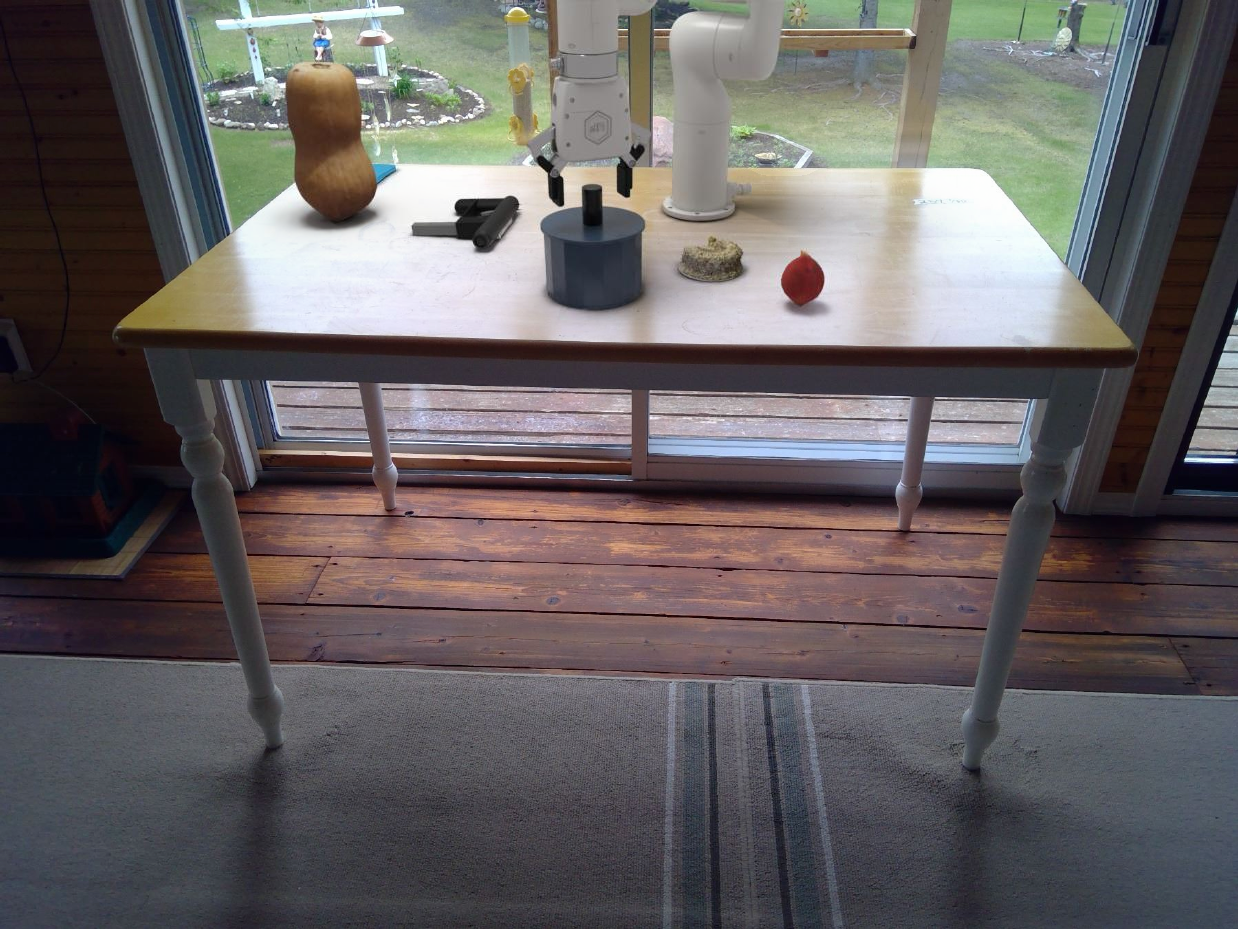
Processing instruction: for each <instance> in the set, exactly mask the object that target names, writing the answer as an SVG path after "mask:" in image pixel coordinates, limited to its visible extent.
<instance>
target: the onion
mask: <svg viewBox="0 0 1238 929" xmlns="http://www.w3.org/2000/svg"><path fill="white" fill-rule="evenodd" d="M825 280H826V279H825V272H824V270H823V267H822V266H821V265H820V264H819V263H818V262H817V260H815V259H814V258H813V257H812V256H811V255H809V253H808V251H807V250H805V249H801V250H800V254H799V256H797V257H796V258H794V259H792V260H791V261H790V262H789V263H788V264H787V265H786V266H785V267H784V270H783V272H782V274H781V279H780V286H781V288H782V292H783V293H784V295H785V296H787V298H788V299H789V300H790V301H791V302H792V303H793V304H794V305H795V306H797V307H803V306H805V305H807V304H809V303H811V302H812V301H815V299H817V298H818V297H819V296H820V295H821V293H822V291H823V289H824V287H825V286H824V285H825Z"/></svg>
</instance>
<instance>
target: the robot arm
mask: <svg viewBox="0 0 1238 929" xmlns="http://www.w3.org/2000/svg"><path fill="white" fill-rule="evenodd" d="M701 1H703V2H709V3H723V4H739V5H747V6H748V8H749V13H733V12H732V13H731V12H727V11H725V12H724V11H710V10H709V11H706V10H698V11H690V12H687V13H684V14H682V15H681V16H679V17H678V18H676V20H675V21H674V23H673V24H672V26H671V29H670V30H669V31H670V32H669V37H668V49H669V50H668V51H669V57H670V65H671V72H672V79H673V80H672V82H673V83H672V84H673V120H672V122H673V123H672V127H673V129H672V131H673V132H672V164H671V165H672V167H671V168H672V169H671V195H670V196H668V197H667V198H665V199H664V200H663V201H662V211H663V212H664V213H665V214H666V215H667V216H670V217H673V218H676V219H679V220H683V221H694V222H705V221H707V222H708V221H716V220H720V219H724V218H727V217H729V216H731V215H732V214H734V212H735V210H736V209H735V208H736V204H735V201H734V200H733V199H735V198H736V197H737V196H747V195H751V194H752V191H753V188H752V185H751V183H750V182H746V183H741V184H740V183H739V184H738V182H737V181H731V182H729V181H728V176H729V175H728V174H729V173H728V172H729V158H730V157H729V156H730V137H731V120H732V104H731V98H730V96H729V93H728V91H727V90H726V89H727V88H726V87H725V86H724V84H723V81H722V80H723V79H724V80H732V81H733V80H734V81H742V82H743V81H744V82H762V81H764V80H766V79H768V78H769V77H770V76H771V75H772V74H773V73H774V70H775V68H776V66H777V61H778V57H779V51H780V45H781V38H782V29H783V21H784V14H785V6H786V5H785V4H786V0H701ZM657 2H658V0H556V16H557V17H556V18H557V21H556V22H557V45H558V46H557V47H558V48H557V49H558V50H557V51H556V56H555V57H553V58H549V59H548V61H547V62H548V69H549V70H550V71H556V72H557V74H559V76H555V77H554V82H553V87H552V95H551V103H550V120H549V121H550V122H549V123H550V125H549V126H548V127H547V128H546V129H544V130H543V131H541V132H540V133H538V134H537V135H535V136H534V137H532V138H531V139H530V140H528V141H527V142H526V144H525V145H526V148H527V150H528V152H529V153H530V156H531V157H532V158H533V161H534V163H536V164H537V165H538V166H539V167H540V168H541V169H542V170H543V171H544V172H545V173H546V174H547V190H548V191H547V192H548V193H547V194H548V198H549V200H551V201H552V203H553V204H555V206H557V207H558V208H563V207H564V206H565V183H564V182H565V181H564V177H563V176H562V175H561V173H562V171H563V170H564V169H565V167H566V165H567V164H568V163H572V164H576V163H577V164H578V163H585V162H595V161H603V160H609V159H611V160H612V159H618V160H619V162H618V163H617V164H616V193H617V194H619V195H621V196H622V197H623V198H625V199H628V198H631V190H632V189H633V188H634V186H633V181H634V178H633V176H634V174H633V172H634V170H633V169H634V168H635V167H636V166H637V162H638V161H639V159H640V158H641V157H642V156H643V154H644V153H645V152H646V147H647V145H648V144H649V141H650V139H651V136H652V132H651V130H649V129H647V128H645V127H643V126H641V125H639V124H637V123H635V122H634V121H632V119H631V110H630V108H631V107H630V101H629V93H628V88H627V87H628V86H627V83H626V78H625V76H624V75H622V74H619V16H631V17H634V16H640V15H644V14H646V13H648V12H649V11H650V10H652V8H654V6H656V4H657ZM632 134H634V135H635V136H636V138H635V141H634V142H633V144H632V140H633V139H632V136H633V135H632ZM548 144H550V150H551V152H552V154H551V155H550V157H549V158H548V159H547V158H546V157H545V155H544V152H543V151H542V149H543V148H544V147H545V146H546V145H548Z"/></svg>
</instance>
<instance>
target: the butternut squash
mask: <svg viewBox="0 0 1238 929" xmlns="http://www.w3.org/2000/svg"><path fill="white" fill-rule="evenodd" d="M284 88H285V90H284V91H285V104H286V117H287V124H288V128H289V131H290V133H291V135H292V138H293V139H292V140H293V142H294V151H295V152H294V170H293V171H294V173H293V178H294V182H295V186H296V189H297V191H298V193H299V194H300V196H301V197H302V199H303V200H304V201H305V202H306V203H307V204H308V205H309V206H310V207H311V208H312V209H314V210H315V211H316V212H318V213H319V214H320V215H321V216H322V217H324V218H326V219H327V220H328V221H330V222H331V223H337V222H341V221H343V220H345V219H347V218H351V217H353V216H355V215H357V214H358V213H359V212H361V211H363V209H365V208H366V207H368V206H369V205H370V204H371V203H372V201H373V200H374V198H375V196H376V194H377V190H378V183H377V181H376V175H375V171H374V168H373V165H372V164H373V162H372V161H371V158H370V156H369V155H368V153H367V151H366V149H365V147H364V144H363V140H362V134H361V133H362V125H363V124H362V121H363V116H362V115H363V114H362V109H363V108H362V100H361V96H360V91H359V87H358V83H357V78H356V76H355V75H354V73H353V72H352V70H351V69H349V68H348V67H346V66H345V65H343V64H342V63H339V62H330V61H324V62H320V61H302V62H298V63H296V64H295V65H293V66H292V68H291V69H289V71H288V73H287V75H286V79H285V87H284Z"/></svg>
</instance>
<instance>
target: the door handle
mask: <svg viewBox="0 0 1238 929" xmlns="http://www.w3.org/2000/svg"><path fill="white" fill-rule="evenodd" d="M521 205H522V203H520V201H519V199H518V198H517V197H516V196H514V195H506V196H505V197H491V198H490V197H489V198H488V197H486V198H485V197H484V198H479V197H478V198H477V197H476V198H459V199H458V200H456V202H455V203H454V211H455V212H456V213H457V214H461V216H460V217H459V218H457V220H456V221H427V222H425V221H424V222H423V221H421V222H420V221H419V222H413V223H412V225H411V233H412V236H457V240H472V244H473V246H474V247H475V248H477V249H478V250H484V249H486V248H488V247H490V246H491V245H492V244H493V242H494V241H495V240H500V239H501V238H502V236H503V235H504V233H505V232H506V231H507V229H508V228H509V227H510V226H511V224H512V223H513V217H514V215H515V214H516V213H517V211H522V209H520V206H521ZM479 215H480V216H479Z"/></svg>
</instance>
